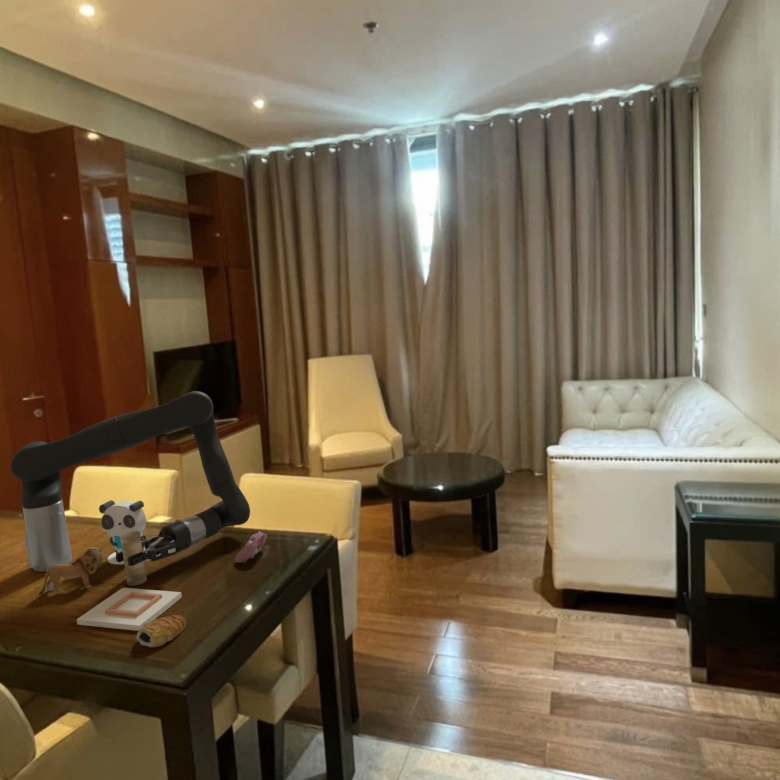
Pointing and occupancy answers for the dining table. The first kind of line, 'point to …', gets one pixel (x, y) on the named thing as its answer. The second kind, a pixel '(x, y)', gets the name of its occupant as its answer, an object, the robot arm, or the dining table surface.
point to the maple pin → (131, 547)
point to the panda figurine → (121, 522)
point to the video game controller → (251, 547)
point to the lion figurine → (74, 569)
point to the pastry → (161, 630)
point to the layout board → (129, 609)
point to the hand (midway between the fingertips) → (123, 560)
